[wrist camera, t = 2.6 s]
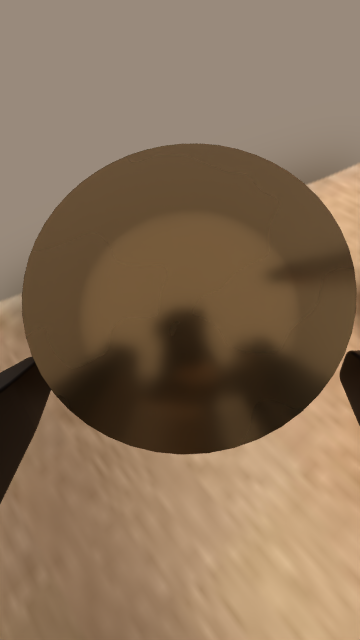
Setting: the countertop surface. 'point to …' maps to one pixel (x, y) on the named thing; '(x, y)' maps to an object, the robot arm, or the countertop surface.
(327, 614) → the countertop surface
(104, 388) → the pin
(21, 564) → the countertop surface
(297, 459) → the countertop surface
